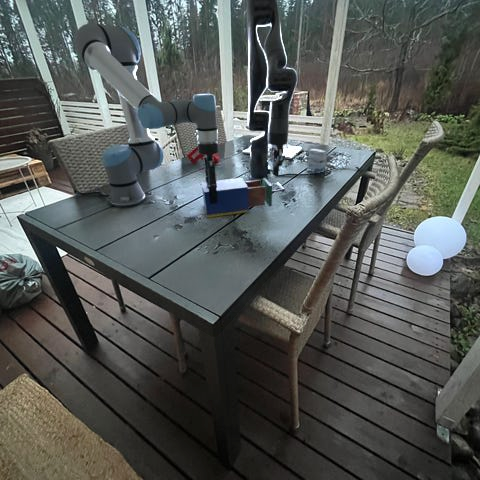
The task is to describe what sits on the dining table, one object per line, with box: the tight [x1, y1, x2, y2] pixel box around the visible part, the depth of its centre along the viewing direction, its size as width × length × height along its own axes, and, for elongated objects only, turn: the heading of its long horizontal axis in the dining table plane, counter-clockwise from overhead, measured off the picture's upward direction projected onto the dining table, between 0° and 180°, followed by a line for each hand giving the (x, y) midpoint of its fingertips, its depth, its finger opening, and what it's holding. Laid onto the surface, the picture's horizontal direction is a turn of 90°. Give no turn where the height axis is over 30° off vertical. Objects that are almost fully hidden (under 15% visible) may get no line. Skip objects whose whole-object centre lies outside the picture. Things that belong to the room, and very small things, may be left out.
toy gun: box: [186, 145, 221, 165], centre depth 168 cm, size 18×4×15 cm
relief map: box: [242, 141, 304, 160], centre depth 192 cm, size 27×35×5 cm
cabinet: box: [201, 177, 250, 218], centre depth 113 cm, size 17×11×11 cm, turn 102°
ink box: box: [306, 148, 328, 173], centre depth 153 cm, size 8×5×12 cm, turn 47°
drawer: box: [245, 178, 286, 208], centre depth 115 cm, size 22×10×9 cm, turn 102°
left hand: (211, 197), depth 111 cm, fingers closed on cabinet, 11 cm apart
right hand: (275, 174), depth 112 cm, fingers closed
